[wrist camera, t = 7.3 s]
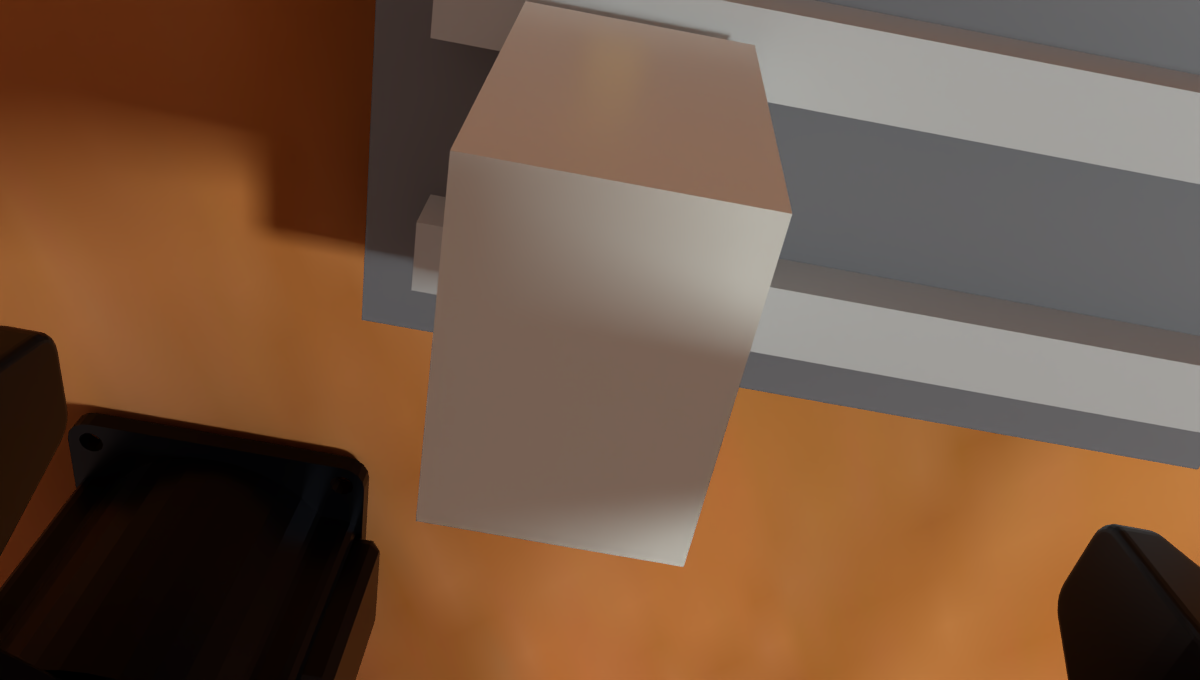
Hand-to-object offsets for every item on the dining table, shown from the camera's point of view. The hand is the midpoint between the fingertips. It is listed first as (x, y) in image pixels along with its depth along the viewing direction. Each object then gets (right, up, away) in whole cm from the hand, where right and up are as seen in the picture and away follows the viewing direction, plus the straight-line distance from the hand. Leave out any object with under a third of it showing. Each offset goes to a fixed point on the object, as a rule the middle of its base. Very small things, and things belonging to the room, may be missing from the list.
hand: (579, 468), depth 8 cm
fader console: (+4, +5, +9) cm, 11 cm away
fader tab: (0, +4, +6) cm, 8 cm away
